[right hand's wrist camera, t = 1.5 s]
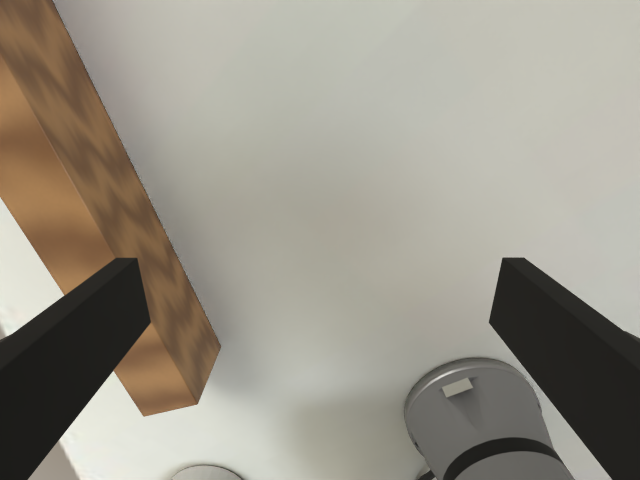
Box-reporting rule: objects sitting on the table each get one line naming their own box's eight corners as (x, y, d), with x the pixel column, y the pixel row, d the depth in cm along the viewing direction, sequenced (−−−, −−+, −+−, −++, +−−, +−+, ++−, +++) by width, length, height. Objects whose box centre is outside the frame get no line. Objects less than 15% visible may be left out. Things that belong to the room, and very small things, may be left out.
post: (221, 346, 38) (197, 404, 31) (176, 357, 39) (143, 417, 31) (-170, -456, 18) (-496, -829, 11) (-250, -411, 19) (-610, -736, 12)
